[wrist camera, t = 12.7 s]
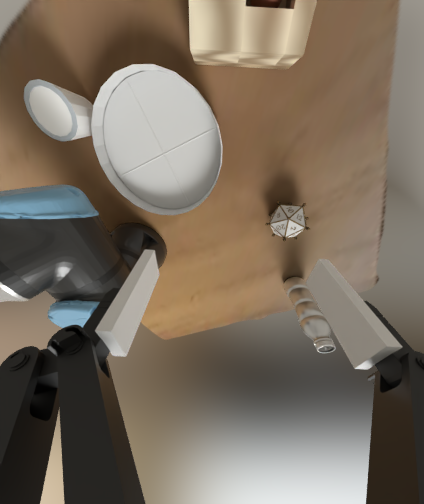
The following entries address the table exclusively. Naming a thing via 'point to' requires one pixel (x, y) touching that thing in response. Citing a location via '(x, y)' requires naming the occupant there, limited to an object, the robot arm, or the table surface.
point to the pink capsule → (266, 3)
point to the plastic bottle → (309, 314)
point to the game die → (288, 220)
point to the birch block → (249, 33)
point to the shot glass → (58, 110)
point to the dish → (156, 139)
